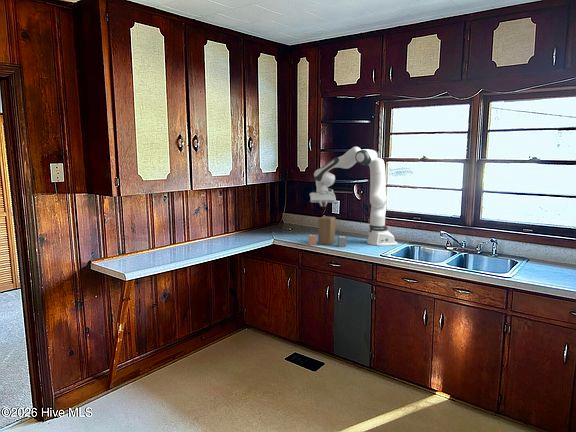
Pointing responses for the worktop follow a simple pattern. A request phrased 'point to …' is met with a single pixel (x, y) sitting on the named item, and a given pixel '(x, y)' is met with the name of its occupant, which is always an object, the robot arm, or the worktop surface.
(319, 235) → the wooden block
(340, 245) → the slate block
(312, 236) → the terracotta block
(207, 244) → the worktop surface
